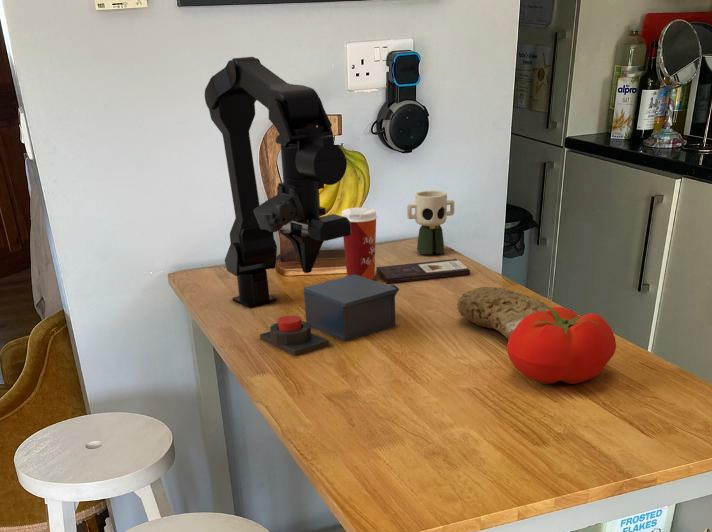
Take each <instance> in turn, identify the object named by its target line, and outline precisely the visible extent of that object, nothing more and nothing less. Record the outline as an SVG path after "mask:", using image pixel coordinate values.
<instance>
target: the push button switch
mask: <svg viewBox="0 0 712 532" xmlns="http://www.w3.org/2000/svg"><path fill="white" fill-rule="evenodd" d="M301 322H302V329H300V330H297V331H291V332H285V331H280V330H279V326H278V322H275V323H273V324H272V325H270V326H269V330H270V331H266V332H263V333H259V339H260V340H261V341H263V342H265V343H267V344H269V345H271V346H274V348H277V349H280V350H282V351H284V352H286V353H288V354H290V355H292V356H293V357H297V356H300V355H303V354H307V353H310V352H313V351H316V350H319V349H322V348H326V347H328V346H329V340H328V339H325V338H323V337H321V336H319V335H317V334H315V333H312V327H310V324H309V323H307V322H306V320H301Z"/></svg>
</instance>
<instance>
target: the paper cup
mask: <svg viewBox="0 0 712 532" xmlns="http://www.w3.org/2000/svg"><path fill="white" fill-rule="evenodd" d="M341 216H343V217H346V218H347V219H348V220H349V221H350V222H351V235H348V236H344V237H342V238H343V239H342V240H343V247H344V248H343V249H344V256H345V257H344V258H345V259H344V260H345V267H346V268H345V269H346V276H349V275H353V274H356V275H359V276H361V277H364V278H367V279H370V280H373V281H375V268H376V243H377V242H376V241H377V239H376V237H377V219H378V218H379V216H378V214H377V212H376V209H375V208H372V207H364V206H362V207H349V208H345V209H343V210H341Z"/></svg>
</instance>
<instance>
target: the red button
mask: <svg viewBox="0 0 712 532" xmlns="http://www.w3.org/2000/svg"><path fill="white" fill-rule="evenodd" d="M301 321H302V318H301V316H298V315H284V316H281V317H279V318H278V319H277V323H278V326H279V330H280V331H285V332H291V331H297V330H300V329H302V322H301Z"/></svg>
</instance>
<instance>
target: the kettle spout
mask: <svg viewBox="0 0 712 532" xmlns="http://www.w3.org/2000/svg"><path fill="white" fill-rule="evenodd" d="M389 286H391V287H394V288H397V293H395V296H397V294H398V292H399V291H400V288H399V287H398V286H397V285H396V284H394V283H390V285H389Z"/></svg>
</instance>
